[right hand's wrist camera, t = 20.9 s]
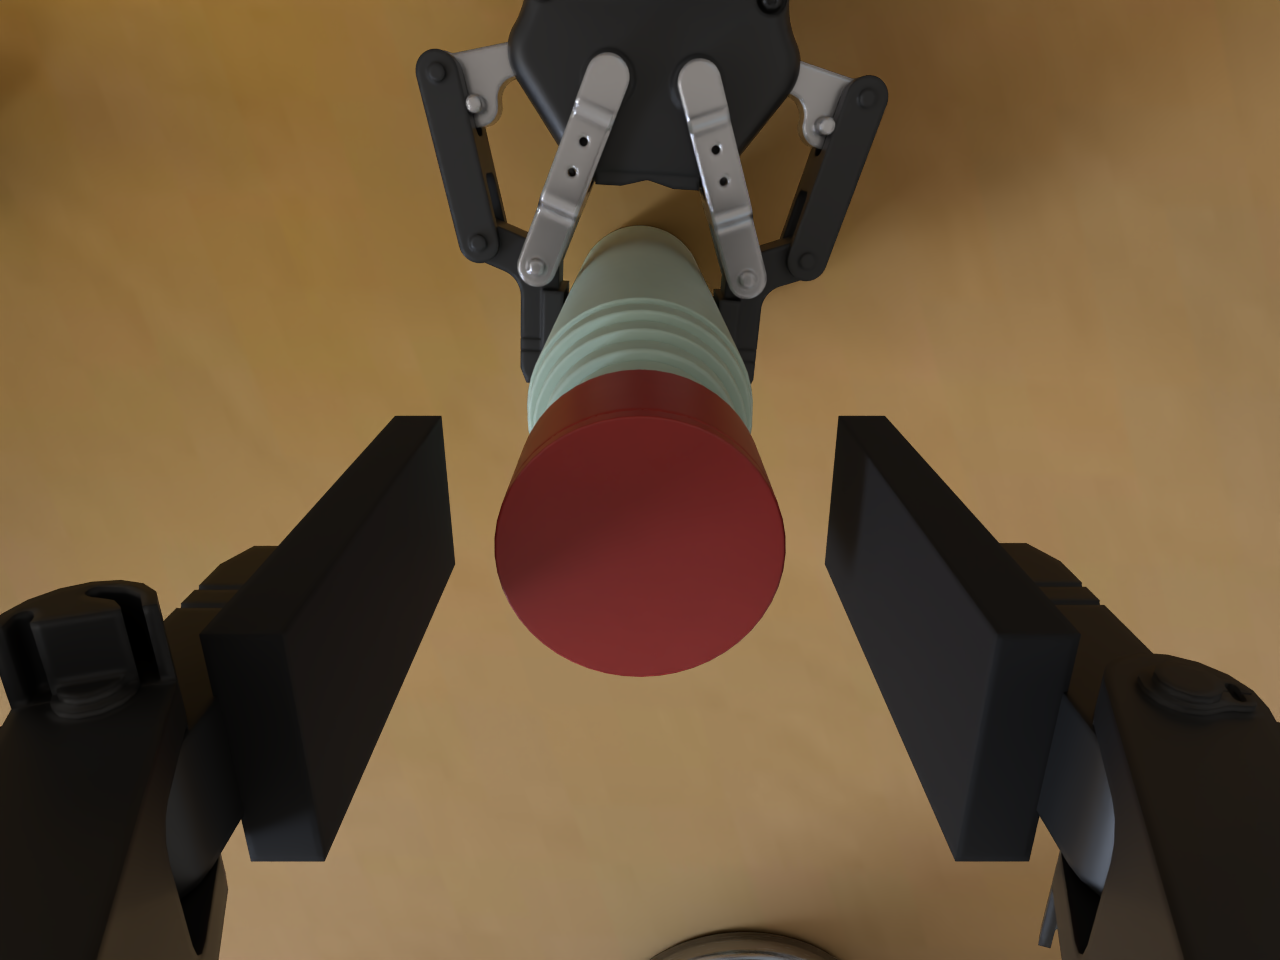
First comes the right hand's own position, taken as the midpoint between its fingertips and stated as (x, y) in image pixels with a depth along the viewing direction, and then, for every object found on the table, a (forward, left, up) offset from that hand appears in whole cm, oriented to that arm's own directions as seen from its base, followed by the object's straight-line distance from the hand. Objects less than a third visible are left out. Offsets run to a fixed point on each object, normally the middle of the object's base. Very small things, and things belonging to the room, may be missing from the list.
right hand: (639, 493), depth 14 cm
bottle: (0, 0, -21) cm, 21 cm away
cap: (0, 0, +2) cm, 2 cm away
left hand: (-2, +2, -15) cm, 15 cm away
